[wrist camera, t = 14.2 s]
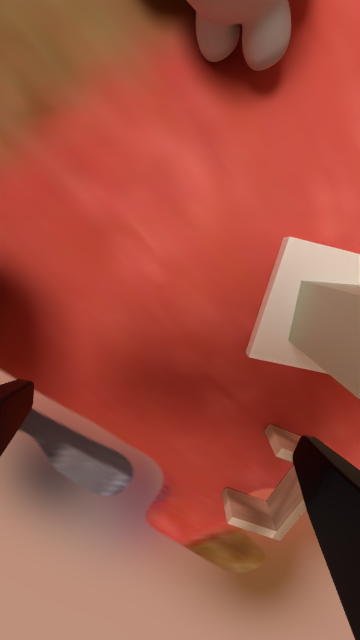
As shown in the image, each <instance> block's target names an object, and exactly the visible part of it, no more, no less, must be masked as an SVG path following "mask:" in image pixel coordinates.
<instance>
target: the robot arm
mask: <svg viewBox="0 0 360 640" xmlns="http://www.w3.org/2000/svg"><path fill="white" fill-rule="evenodd" d="M33 395H34V383H33V382H32V381H29V380H24V379H17V380H14V381H11V382H8V383H5V384H2V385H0V456H1V455H2V453H3V452H4V450H5V449H6V447H7V446H8V444H9V443H10V441H11V440H12V438H13V437H14V435H15V434H16V432H17V431H18V429H19V427H20V426H21V424H22V423H23V421H24V420H25V418H26V417H27V415H28V414H29V412H30V410H31V408H32V405H33ZM292 459H293V464H294V467H295V471H296V474H297V478H298V481H299V485H300V489H301V492H302V496H303V499H304V503H305V506H306V509H307V512H308V515H309V518H310V520H311V523H312V526H313V529H314V531H315V534H316V536H317V539H318V542H319V545H320V547H321V550H322V553H323V555H324V558H325V560H326V563H327V566H328V569H329V571H330V574H331V577H332V579H333V582H334V585H335V587H336V590H337V592H338V595H339V598H340V600H341V603H342V606H343V608H344V611H345V614H346V616H347V619H348V622H349V624H350V627H351V630H352V632H353V635H354V638H355V640H360V470H359V469H357V468H356V467H355V466H353V465H352V464H351V463H349V462H348V461H347V460H345V459H344V458H342V457H341V456H340V455H338V454H337V453H336V452H334V451H333V450H332V449H330V448H329V447H328V446H326V445H325V444H324V443H322V442H321V441H320V440H318V439H317V438H315V437H311V436H306V435H303V436H301V437H300V439H299V441H298V443H297V446H296V448H295V450H294V452H293V457H292Z"/></svg>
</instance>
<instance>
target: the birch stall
mask: <svg viewBox="0 0 360 640" xmlns="http://www.w3.org/2000/svg"><path fill="white" fill-rule="evenodd" d="M264 432H265V435H266V437H267V439H268V441H269V443H270V445H271V447H272V449H273V451H274V453H275V456H276V457H279V458H282V459H284V460H287V461H290V462H292V463H293V459H292V457H293V452H294V450H295V448H296V446H297V443H298V441H299V439H300V437H301V436H299V435H296V434H294V433H291V432H289V431H286V430H284V429H281V428H279V427H276V426H274V425H271V424H269V425H268V426H267V428H266V429H265V431H264ZM222 497H223V502H224V507H225V513H226V518H227V524H230V525H233V526H236V527H239V528H242V529H245V530H248V531H252V532H255V533H258V534H261V535H264V536H267V537H270V538H273V539H276V540H279V541H280V540H281V539H282V538H283V537H284V536H285V534H286V533H287V532H288V531H289V529H290V528H291V527H292V526H293V524H294V523H295V522H296V521H297V520H298V519H299V517H300V516H301V515H302V514H303V513H304V511H305V510H306V506H305V503H304V499H303V496H302V492H301V489H300V485H299V481H298V478H297V474H296V471H295V467H294V465H293V466H292V467H291V469H290V470H289V471H288V473H287V474H286V475H285V477H284V478H283V479H282V481H281V482H280V483H279V485H278V486H277V487H276V489H275V490H274V491H273V493H272V494H271V495H270V497H269V498H268V499H267V501H264V500H262V499H259V498H256V497H253V496H250V495H247V494H244V493H242V492H239V491H236V490H233V489H230V488H227V487H226V488H225V490H224V491H223V493H222Z"/></svg>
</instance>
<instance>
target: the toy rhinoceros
mask: <svg viewBox="0 0 360 640" xmlns="http://www.w3.org/2000/svg"><path fill="white" fill-rule="evenodd" d="M187 2H188V3H189V4H190V5H191V6H192V7H193V8H194V9H195V10H196V36H197V42H198V46H199V49H200V51H201V53H202V55H203V56H204V57H205V58H206V59H207V60H208V61H211V62H217V61H220V60H222V59H224V58H226V57H227V56H228V55H230V54H231V53H232V51H233V50H234V49H235V47H236V46H237V43H238V41H239V36H240V24H242V26H243V28H242V49H243V55H244V58H245V61H246V63H247V64H248V66H249V67H250V68H251V69H253V70H256V71H261V70H265V69H267V68H269V67H271V66H273V65H274V64H275V63H277V62H278V61H279V60H280V59H281V58H282V57H283V55H284V54H285V52H286V50H287V48H288V45H289V41H290V36H291V13H290V7H289V2H288V0H187Z"/></svg>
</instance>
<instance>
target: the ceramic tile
mask: <svg viewBox="0 0 360 640" xmlns="http://www.w3.org/2000/svg"><path fill="white" fill-rule="evenodd" d="M301 280H302V281H315V282H328V283H341V284H355V285H360V254H357V253H353V252H349V251H345V250H341V249H337V248H333V247H329V246H325V245H321V244H317V243H313V242H309V241H305V240H301V239H297V238H293V237H284V238H283V241H282V244H281V247H280V250H279V253H278V256H277V259H276V262H275V265H274V268H273V271H272V274H271V277H270V280H269V283H268V286H267V289H266V292H265V295H264V298H263V301H262V304H261V307H260V310H259V313H258V316H257V319H256V322H255V325H254V328H253V331H252V334H251V337H250V340H249V343H248V346H247V349H246V352H245V353H246V354H247V356H248V357H249V358H254V359H259V360H264V361H269V362H273V363H278V364H283V365H288V366H293V367H297V368H302V369H307V370H312V371H317V372H321V373H326V374H328V373H327V372H326V371H324V370H323V369H322V368H321V367H320V366H318V365H317V364H316V363H315V362H314V361H312V360H311V359H310V358H309V357H308V356H306V355H305V354H304V353H303V352H302V351H300V350H299V349H298V348H297V347H296V346H294V345H293V344H292V343H291V342H290V341H288V338H289V334H290V329H291V325H292V320H293V316H294V311H295V307H296V302H297V297H298V293H299V288H300V284H301Z"/></svg>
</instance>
